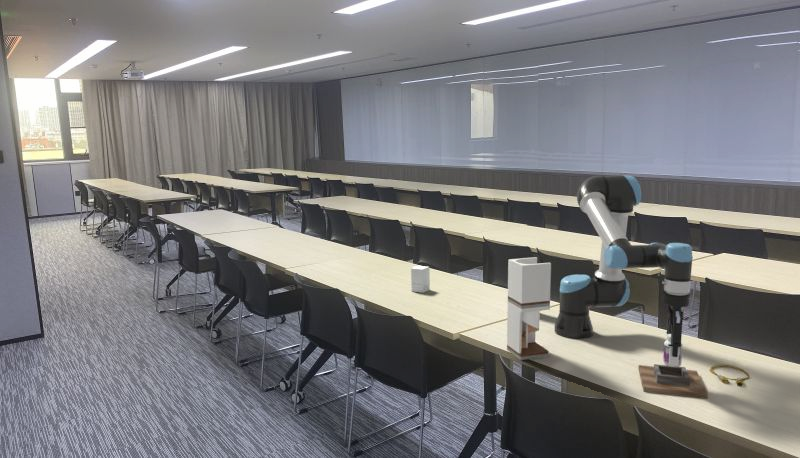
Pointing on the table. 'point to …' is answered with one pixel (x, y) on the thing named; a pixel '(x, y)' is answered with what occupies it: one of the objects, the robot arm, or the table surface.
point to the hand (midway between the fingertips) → (672, 361)
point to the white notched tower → (526, 305)
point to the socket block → (671, 381)
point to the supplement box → (420, 279)
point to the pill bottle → (667, 350)
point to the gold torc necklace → (724, 379)
